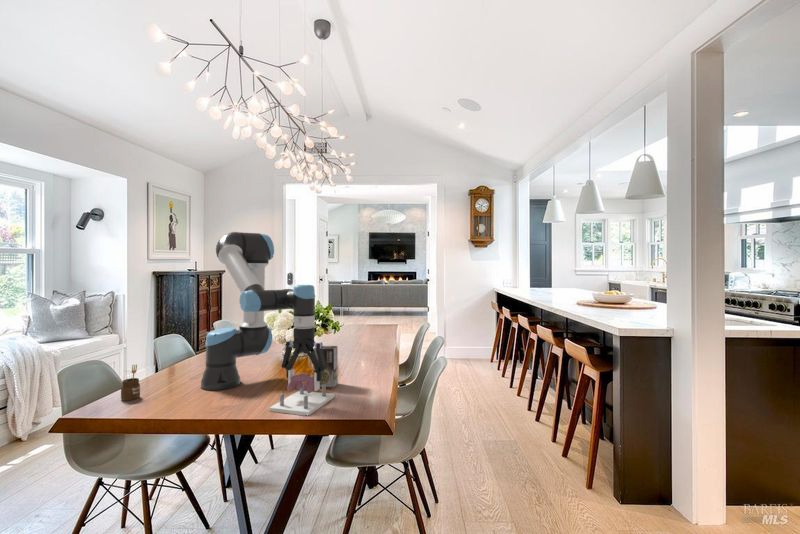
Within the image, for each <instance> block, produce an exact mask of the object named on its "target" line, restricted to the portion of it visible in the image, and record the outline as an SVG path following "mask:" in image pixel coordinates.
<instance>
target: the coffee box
mask: <svg viewBox="0 0 800 534" xmlns="http://www.w3.org/2000/svg"><path fill="white" fill-rule="evenodd" d="M313 349H314V351H315V355H316V357H317V359H318V356H317V352H316V349H315V347H313ZM322 350H323V354H324V358H325V362H326V366H327V369H326V370H324V371H322V379H321V381H320V388H322V385H326V388H335V387H336V386H337V385H338V382H339V381H338V379H339V378H338V376H339V375H338V369H339V368H338V366H339V365H338V345H322ZM312 366H313V365H312ZM312 368H313V369H312V370H313V373H312V374H313V375H312V376H314V372H316V370H315V368H314V366H313V367H312Z"/></svg>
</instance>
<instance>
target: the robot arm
mask: <svg viewBox="0 0 800 534" xmlns="http://www.w3.org/2000/svg"><path fill="white" fill-rule="evenodd" d="M215 254H216V257H217V259H218V260H219V262H220V263H221V264H223V265H225V267H226V269H227V270H228V273H229V274H230V276H231V278H232V279H233V281H234V283H235V284H236V287H237V288H238V290H239V292H240V295H239V307H240V309H241V310H242V311H243V315H242V316H243V317H242V319H243V321H242V322H241V323H240V324H239V329H238V330H237V328H236V327H234V326H231V327H221V328H217V329H214V330H211V331H209V332H207V334H206V336H205V343H204V344H205V367H204V368H205V369H204V372H203V374H202V379H200V380H201V381H200V388H201V389H203V390H205V391H207V390H208V391H218V390H221V391H222V390H227V389H231V388H235V387H237V386H239V385H240V384H241V377H240V374H239V371H238V367H237V358H242V357H249V356H250V357H251V356H259V355H261V354H265V353H267V352H268V351H269V350H270V349H271V346H272V343H273V333H272V329H271V328H270V327H269V326H268V323H267V322H265V312H268V311H279V310H280V311H283V310H284V311H285V310H293V327H294V328H293V330H292V331H293V335H292V336H293V340H289V341H286V342H285V351H284V354H283V359H282V362H281V368H282V369H285V370H286V371H285V372H286V379H288V380H287V381H288V382H287V383H288V384H289V383H290V381H291V379H292V378H293V376H295V368H294V364H295V363H296V361H297V359H298V357H299V356H300V354H306V355H307V357H309V360H310V361H311V364H312V366H314V368H315V370H316V372H314V389H313V392H318V390H320V389H321V387H320V381H321V379H322V371H324V370H326V369H327V366H326V362H325V358H324V354H323V350H322V346H324V345H323V342H316V341H315V338H316V336H315V330H316V328H315V325H316V323H315V322H316V320H315V316H316V315H315V313H316V312H315V311H316V310H315V309H316V308H315V307H316V295H315V292H316V291H315V290H316V289H315V286H314V285H313V284H295V285H294V286H293V289H291V288H283V289H265V284H266V283H265V282H266V281H265V280H266V279H265V278H266V277H265V276H266V275H265V273H266V272H265V271H266V267H267V266H268V265H269V262H270V260H272V259H273V258H274V255H275V246H274V242H273V240H272V238H271V237H270V236H269V235H268V234H265V233H264V234H263V233H257V232H254V233H253V232H239V231H232V232H228V233H225V234H224V235H223V236H221V237H220V238H219V240H218V241H217V243H216V246H215ZM293 347H294V350H293ZM314 348H315V349H316V352H317V356H318V359H317V357H316V355H315V351H314ZM292 350H293V352H292ZM291 354H292V355H291Z"/></svg>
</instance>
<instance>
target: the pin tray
mask: <svg viewBox="0 0 800 534" xmlns="http://www.w3.org/2000/svg"><path fill="white" fill-rule="evenodd" d="M302 384H303V388H302V389H300V390H298V391H296V392H294V393H292V394H291V395H289V396H287V397H285V393H283V392H281V393H279V402H277V403H274V404H273V405H271V406H270V407H269V409H268V410H269V412H273V413H275V412H276V413H280V414H281V413H283V414H291V415H299V416H305V415H307V417H308V415H309V416H310V415H311V414H313V413H314V412H316V411H317V410H318V409H320V408H321V407H323V406H324V405H326V404H327V403H329V402H330V401H331V400H332V399H334V398H335V393H330V392H329V393H328V392H327V387H326V385H322V387H321V392H319V391H312V392H311V393H308V392H307V390H305V389H304V385H305V382H302Z"/></svg>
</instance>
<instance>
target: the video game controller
mask: <svg viewBox="0 0 800 534" xmlns="http://www.w3.org/2000/svg"><path fill="white" fill-rule="evenodd" d="M302 383H304V391H307V392H308V393H311V392H314V376H313V375H312V374H310V373H306V372H305V373H302V372H301V373H296V374H295V373H294V376H293V378H292V379H291V381H290V383H289V384H288V385H287V387H286V389H287V391H288V392H290V391H292V389H294V388H296V389H297V390H298V391H300V389H302V388H303V384H302Z"/></svg>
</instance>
